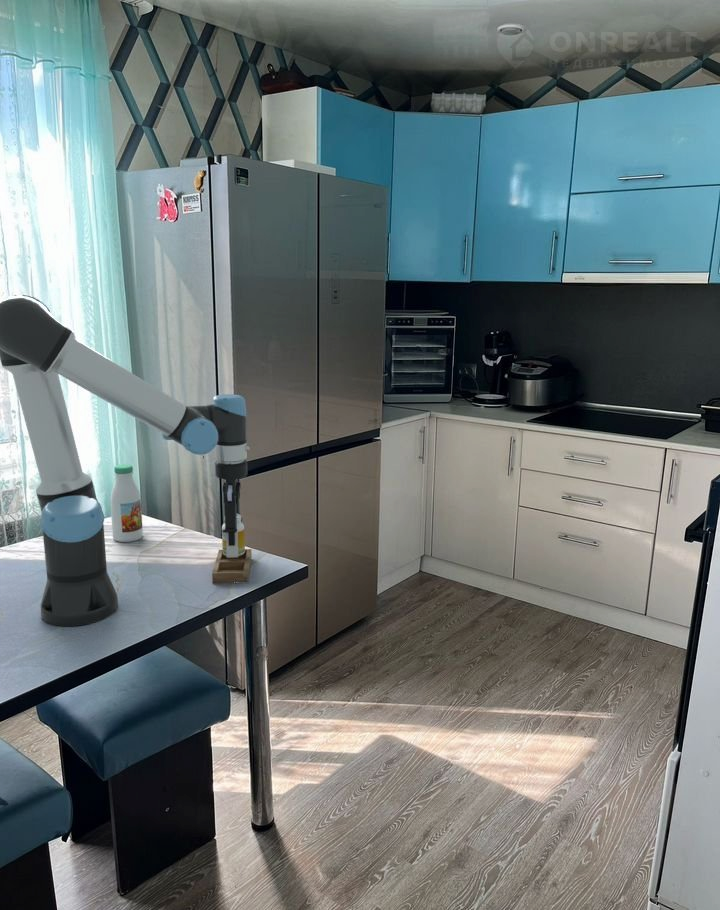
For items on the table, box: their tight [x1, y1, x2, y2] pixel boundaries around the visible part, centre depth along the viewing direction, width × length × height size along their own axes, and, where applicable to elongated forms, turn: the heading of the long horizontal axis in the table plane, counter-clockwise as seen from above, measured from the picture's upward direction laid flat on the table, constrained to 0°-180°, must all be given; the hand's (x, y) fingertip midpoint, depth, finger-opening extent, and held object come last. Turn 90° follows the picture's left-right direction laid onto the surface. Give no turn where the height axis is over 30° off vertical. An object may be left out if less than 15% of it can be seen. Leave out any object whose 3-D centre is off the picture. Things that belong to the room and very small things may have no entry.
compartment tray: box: [211, 548, 253, 585], centre depth 173 cm, size 15×8×2 cm, turn 5°
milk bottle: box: [110, 463, 144, 543], centre depth 192 cm, size 8×8×20 cm
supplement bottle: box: [221, 513, 246, 556], centre depth 175 cm, size 5×5×10 cm
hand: (233, 552), depth 177 cm, fingers closed on supplement bottle, 5 cm apart
